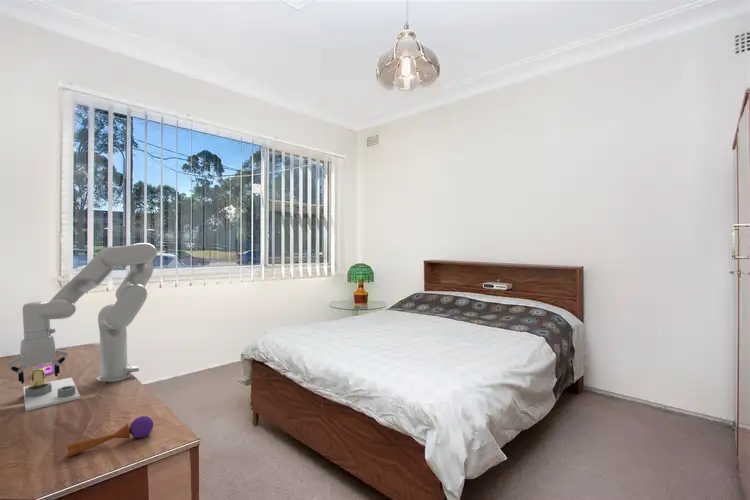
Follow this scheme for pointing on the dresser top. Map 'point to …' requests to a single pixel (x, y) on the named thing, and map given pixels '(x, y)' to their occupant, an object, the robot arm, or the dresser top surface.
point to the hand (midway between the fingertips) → (39, 379)
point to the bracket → (48, 368)
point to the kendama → (115, 435)
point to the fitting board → (50, 394)
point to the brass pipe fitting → (37, 378)
